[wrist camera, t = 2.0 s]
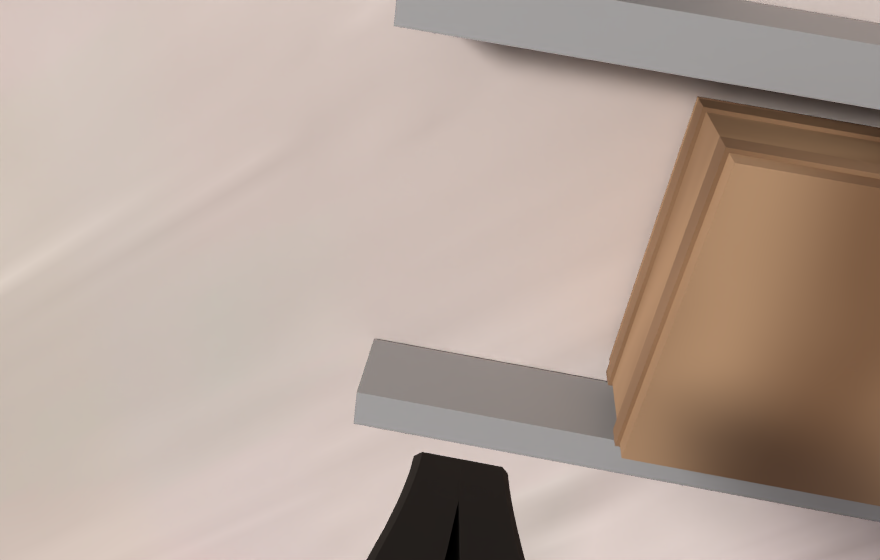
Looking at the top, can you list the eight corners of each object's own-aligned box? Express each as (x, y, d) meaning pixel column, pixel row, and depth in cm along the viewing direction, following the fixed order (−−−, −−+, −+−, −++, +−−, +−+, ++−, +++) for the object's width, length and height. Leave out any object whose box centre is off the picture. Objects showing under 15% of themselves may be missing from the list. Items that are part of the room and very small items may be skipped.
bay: (1485, 116, 16) (1740, 195, 12) (1111, 510, 23) (1210, 631, 19) (419, -65, 16) (386, -35, 13) (370, 373, 23) (341, 467, 20)
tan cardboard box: (1044, 152, 17) (1168, 233, 14) (882, 411, 22) (946, 521, 18) (694, 91, 17) (731, 156, 14) (605, 360, 22) (616, 460, 18)
